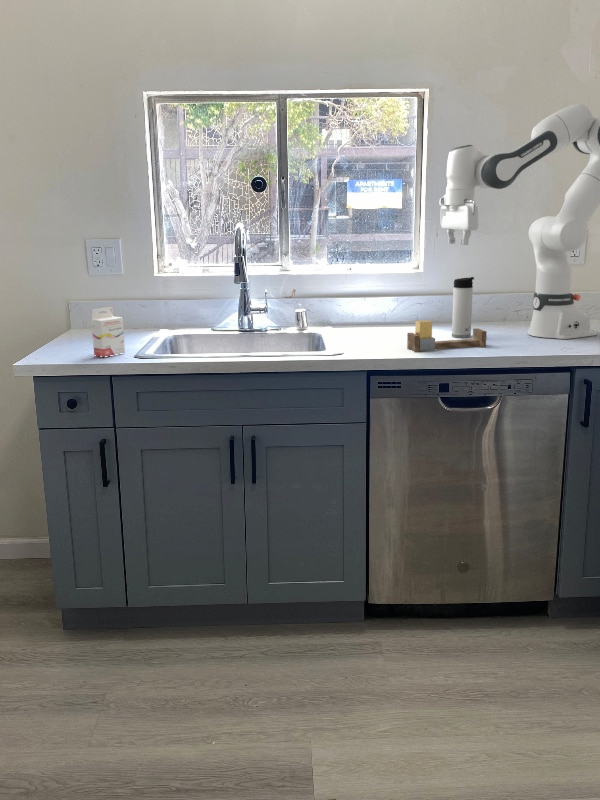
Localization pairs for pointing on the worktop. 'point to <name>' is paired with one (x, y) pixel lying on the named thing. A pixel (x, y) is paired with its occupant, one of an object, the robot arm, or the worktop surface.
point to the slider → (425, 335)
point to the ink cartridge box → (107, 332)
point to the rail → (450, 341)
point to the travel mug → (462, 307)
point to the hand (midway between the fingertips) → (458, 244)
